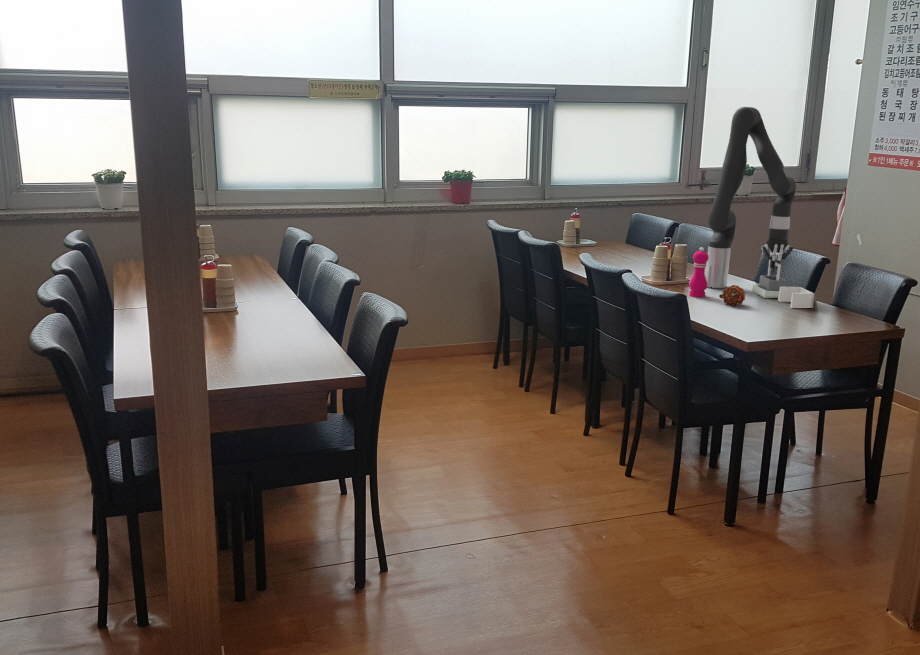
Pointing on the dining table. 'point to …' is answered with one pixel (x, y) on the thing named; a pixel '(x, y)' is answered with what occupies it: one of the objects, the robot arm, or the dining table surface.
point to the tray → (765, 292)
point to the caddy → (772, 280)
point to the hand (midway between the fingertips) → (774, 269)
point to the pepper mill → (699, 274)
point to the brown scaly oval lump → (733, 295)
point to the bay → (796, 297)
